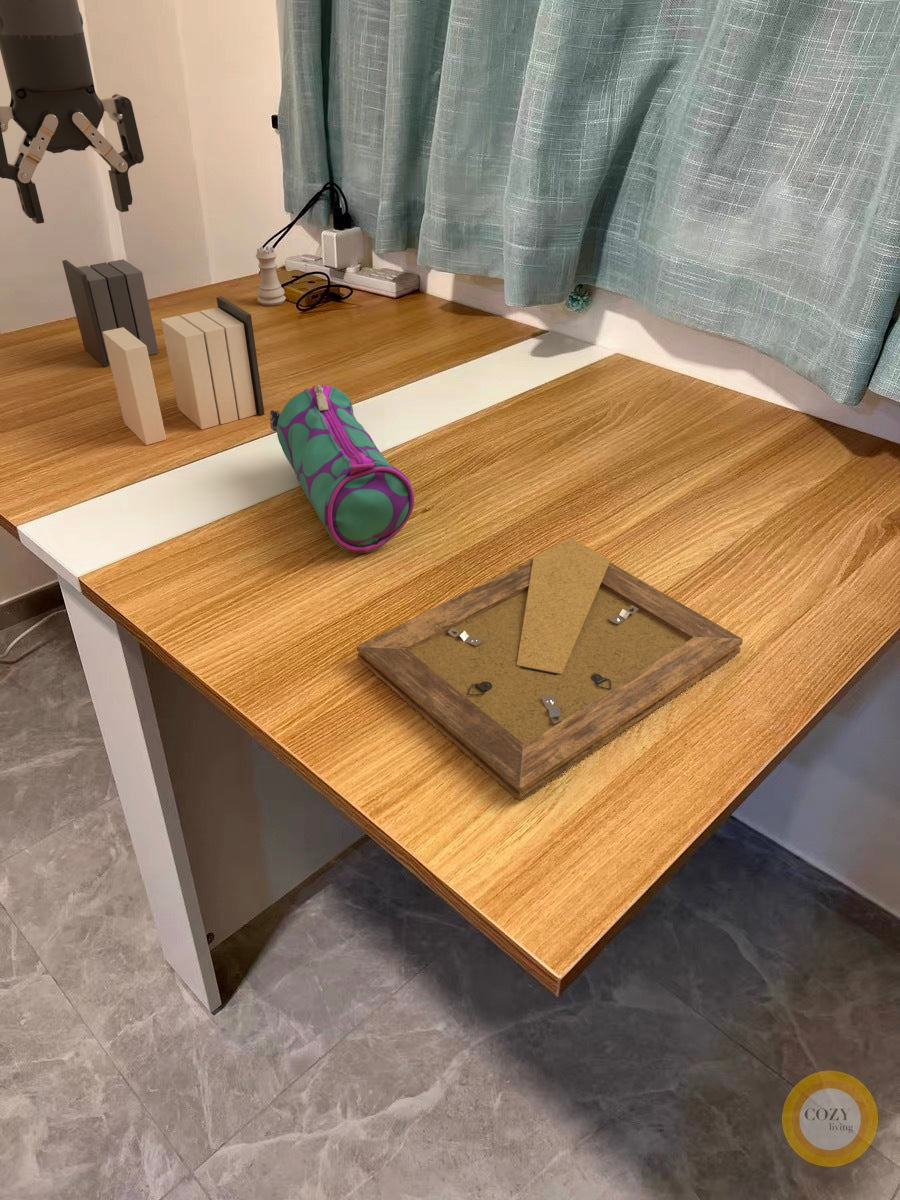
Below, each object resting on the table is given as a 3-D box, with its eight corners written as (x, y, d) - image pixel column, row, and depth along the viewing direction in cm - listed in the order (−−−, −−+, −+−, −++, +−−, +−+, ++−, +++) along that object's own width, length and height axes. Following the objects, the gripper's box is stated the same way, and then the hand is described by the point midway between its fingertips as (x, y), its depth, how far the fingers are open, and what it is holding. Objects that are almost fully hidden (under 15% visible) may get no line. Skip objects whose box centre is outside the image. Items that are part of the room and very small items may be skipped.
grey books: (103, 367, 118) (81, 275, 111) (84, 349, 123) (61, 260, 116) (160, 354, 121) (142, 264, 114) (139, 337, 127) (120, 250, 119)
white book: (146, 445, 99) (124, 350, 93) (124, 423, 104) (102, 331, 97) (166, 439, 100) (146, 345, 94) (144, 418, 105) (123, 326, 98)
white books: (203, 431, 102) (184, 329, 95) (176, 408, 107) (156, 309, 100) (264, 414, 106) (251, 314, 99) (235, 392, 111) (220, 296, 104)
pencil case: (275, 467, 95) (263, 382, 89) (354, 452, 98) (348, 369, 92) (329, 569, 80) (319, 474, 74) (421, 548, 82) (419, 455, 76)
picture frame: (570, 553, 81) (357, 660, 69) (571, 537, 80) (355, 643, 68) (739, 654, 70) (520, 803, 58) (744, 636, 69) (521, 785, 57)
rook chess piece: (252, 305, 138) (245, 252, 133) (264, 296, 141) (257, 244, 137) (279, 307, 137) (273, 253, 132) (290, 298, 140) (284, 245, 136)
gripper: (103, 22, 87) (136, 200, 96) (-54, 27, 80) (-2, 217, 90) (130, 28, 82) (162, 214, 92) (-35, 33, 75) (18, 234, 85)
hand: (81, 216), depth 91 cm, fingers open, 8 cm apart
